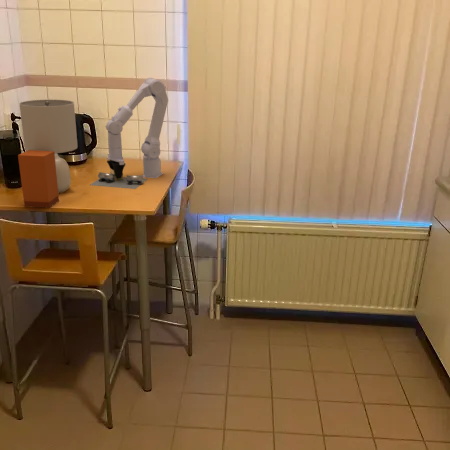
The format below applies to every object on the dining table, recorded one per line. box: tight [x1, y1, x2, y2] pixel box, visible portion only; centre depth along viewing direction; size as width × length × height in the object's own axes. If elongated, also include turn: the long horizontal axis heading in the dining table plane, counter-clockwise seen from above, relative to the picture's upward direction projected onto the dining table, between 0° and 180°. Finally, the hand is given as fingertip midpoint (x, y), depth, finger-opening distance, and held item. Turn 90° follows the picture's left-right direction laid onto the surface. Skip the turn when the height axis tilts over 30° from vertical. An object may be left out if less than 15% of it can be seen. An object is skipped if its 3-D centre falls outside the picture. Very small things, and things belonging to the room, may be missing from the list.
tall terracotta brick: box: [17, 150, 60, 209], centre depth 189 cm, size 10×9×20 cm
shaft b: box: [125, 174, 144, 186], centre depth 218 cm, size 7×4×4 cm, turn 94°
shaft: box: [97, 171, 115, 183], centre depth 220 cm, size 7×4×4 cm, turn 64°
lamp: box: [19, 99, 78, 194], centre depth 201 cm, size 20×20×37 cm
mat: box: [89, 176, 148, 190], centre depth 220 cm, size 16×21×1 cm
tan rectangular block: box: [109, 167, 124, 180], centre depth 224 cm, size 4×4×5 cm
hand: (116, 176), depth 224 cm, fingers closed on tan rectangular block, 4 cm apart
